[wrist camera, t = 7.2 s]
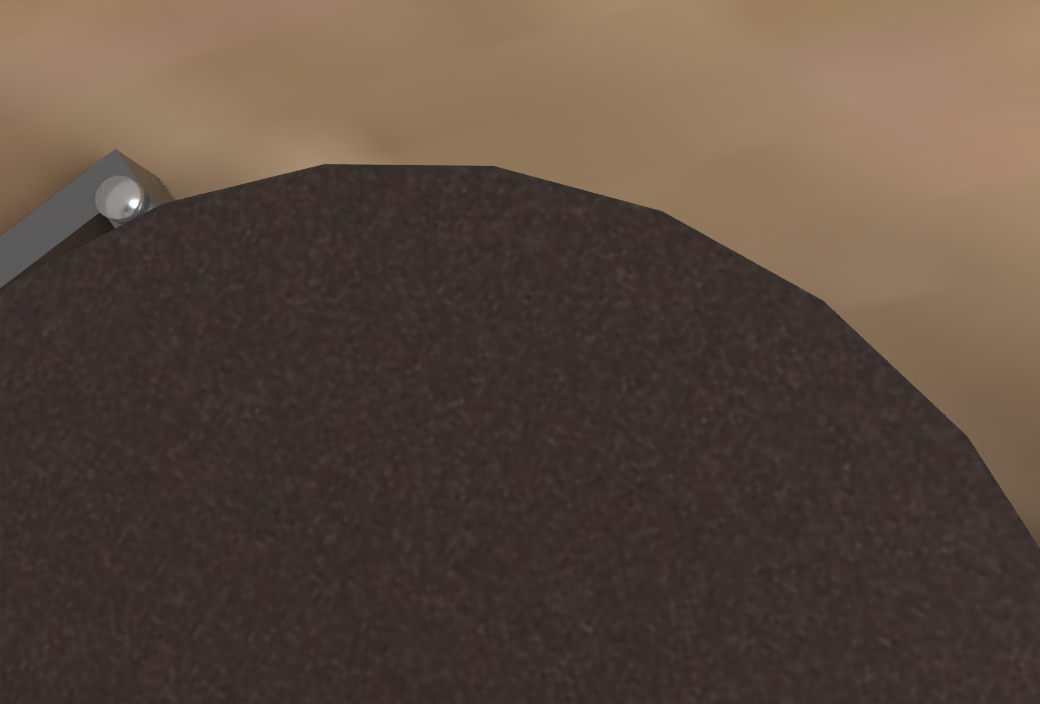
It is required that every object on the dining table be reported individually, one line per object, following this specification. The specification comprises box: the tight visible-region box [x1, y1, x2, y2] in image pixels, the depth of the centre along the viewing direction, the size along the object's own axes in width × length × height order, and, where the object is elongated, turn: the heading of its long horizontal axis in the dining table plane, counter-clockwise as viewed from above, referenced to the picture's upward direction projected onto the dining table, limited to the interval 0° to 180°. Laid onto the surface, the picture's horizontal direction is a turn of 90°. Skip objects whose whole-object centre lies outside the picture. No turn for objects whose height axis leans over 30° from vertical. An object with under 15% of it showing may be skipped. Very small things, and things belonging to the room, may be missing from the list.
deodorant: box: [0, 164, 1040, 704], centre depth 10 cm, size 6×6×15 cm
